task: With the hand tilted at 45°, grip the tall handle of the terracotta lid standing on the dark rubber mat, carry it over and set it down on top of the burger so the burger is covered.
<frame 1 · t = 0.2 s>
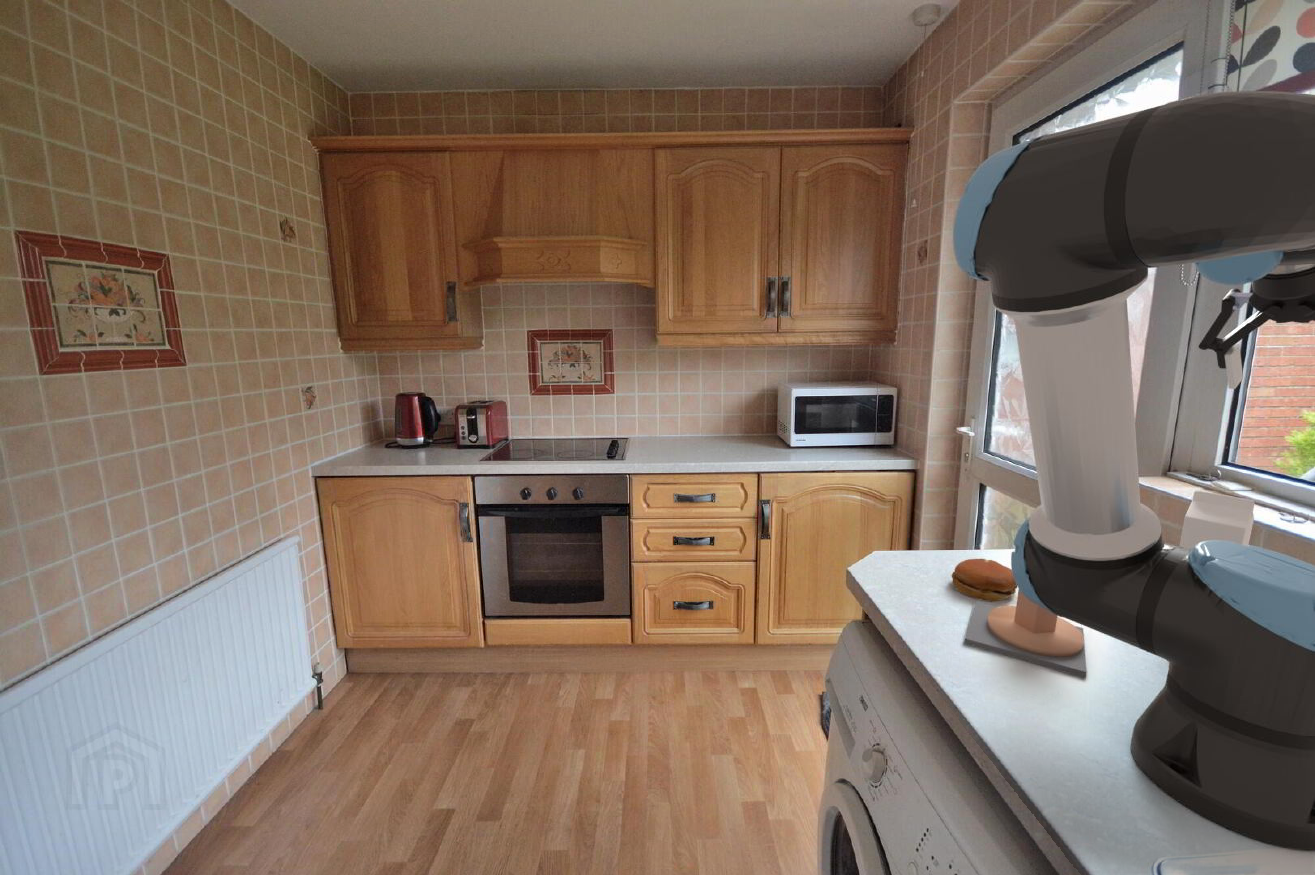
hand: (1299, 387, 82), 36 cm above the countertop, tool tilted 35°, fingers open, 13 cm apart
lid: (1033, 633, 82), point 1 cm above the countertop, touching mat
burger: (982, 591, 97), on the countertop
milk: (1193, 643, 81), on the countertop
mat: (1024, 638, 82), on the countertop
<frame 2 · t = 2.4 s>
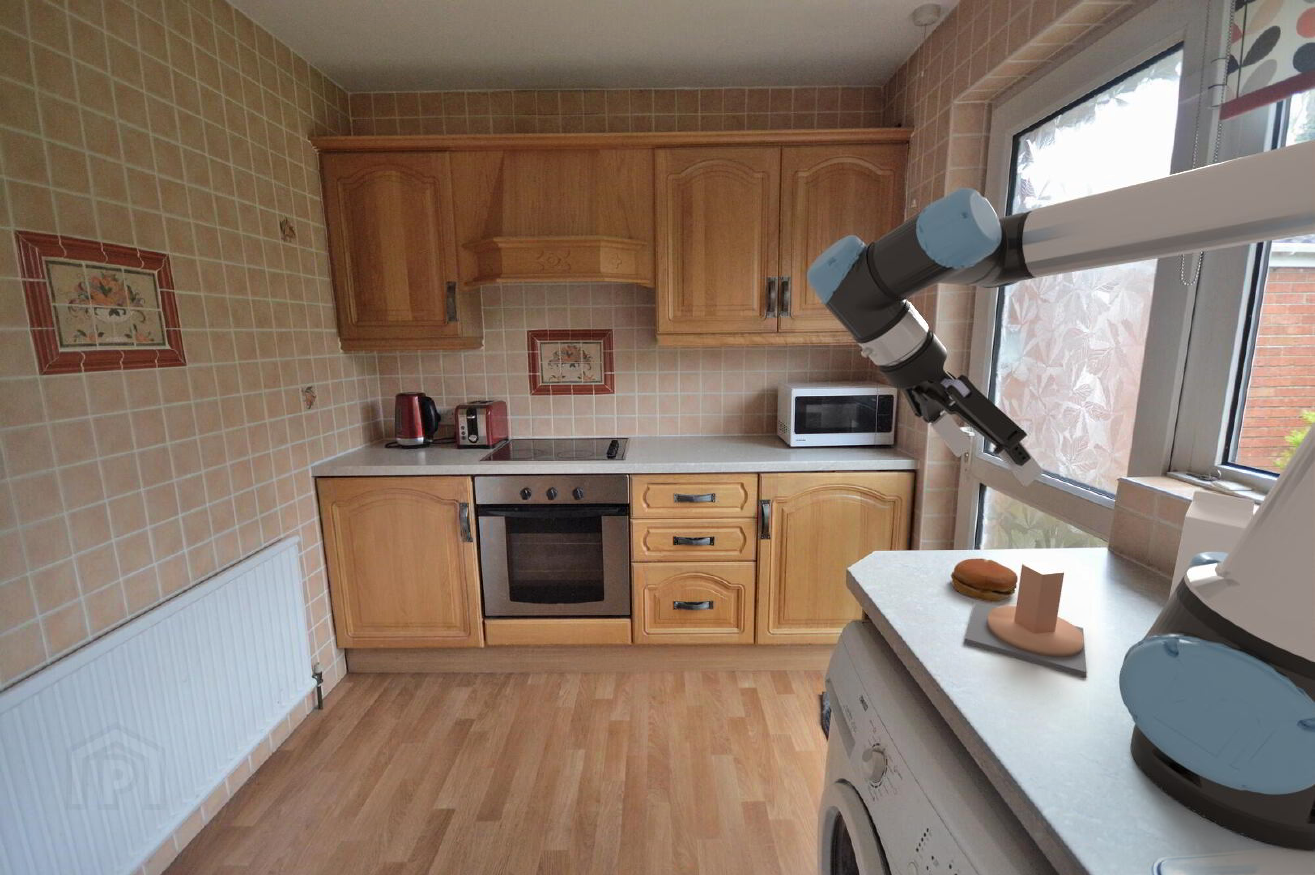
hand: (996, 463, 76), 27 cm above the countertop, tool tilted 45°, fingers open, 13 cm apart
nothing on the countertop moved.
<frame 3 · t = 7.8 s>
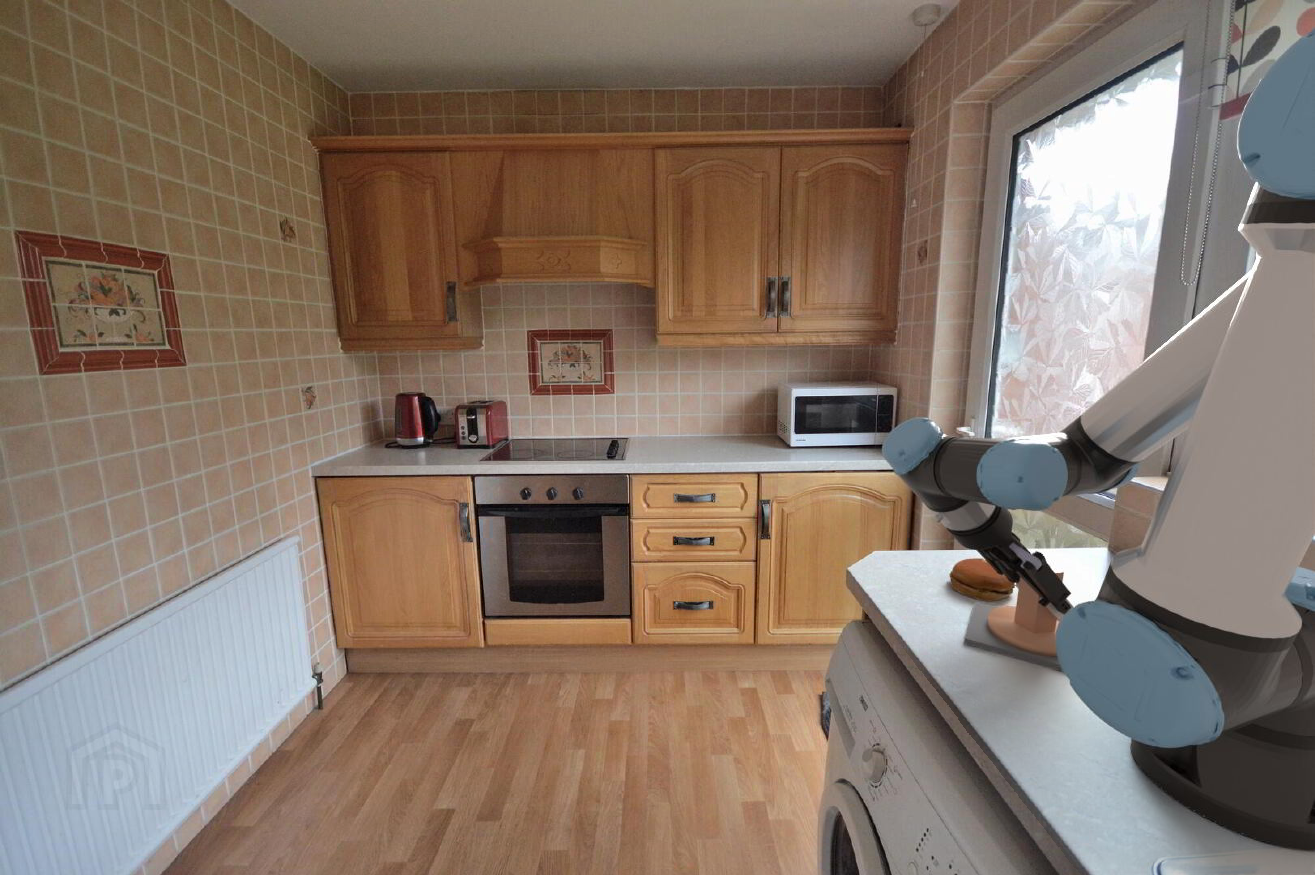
hand: (1058, 613, 82), 4 cm above the countertop, tool tilted 45°, fingers closed on lid, 3 cm apart
lid: (1033, 633, 82), point 1 cm above the countertop, touching gripper, mat
everything else where it was.
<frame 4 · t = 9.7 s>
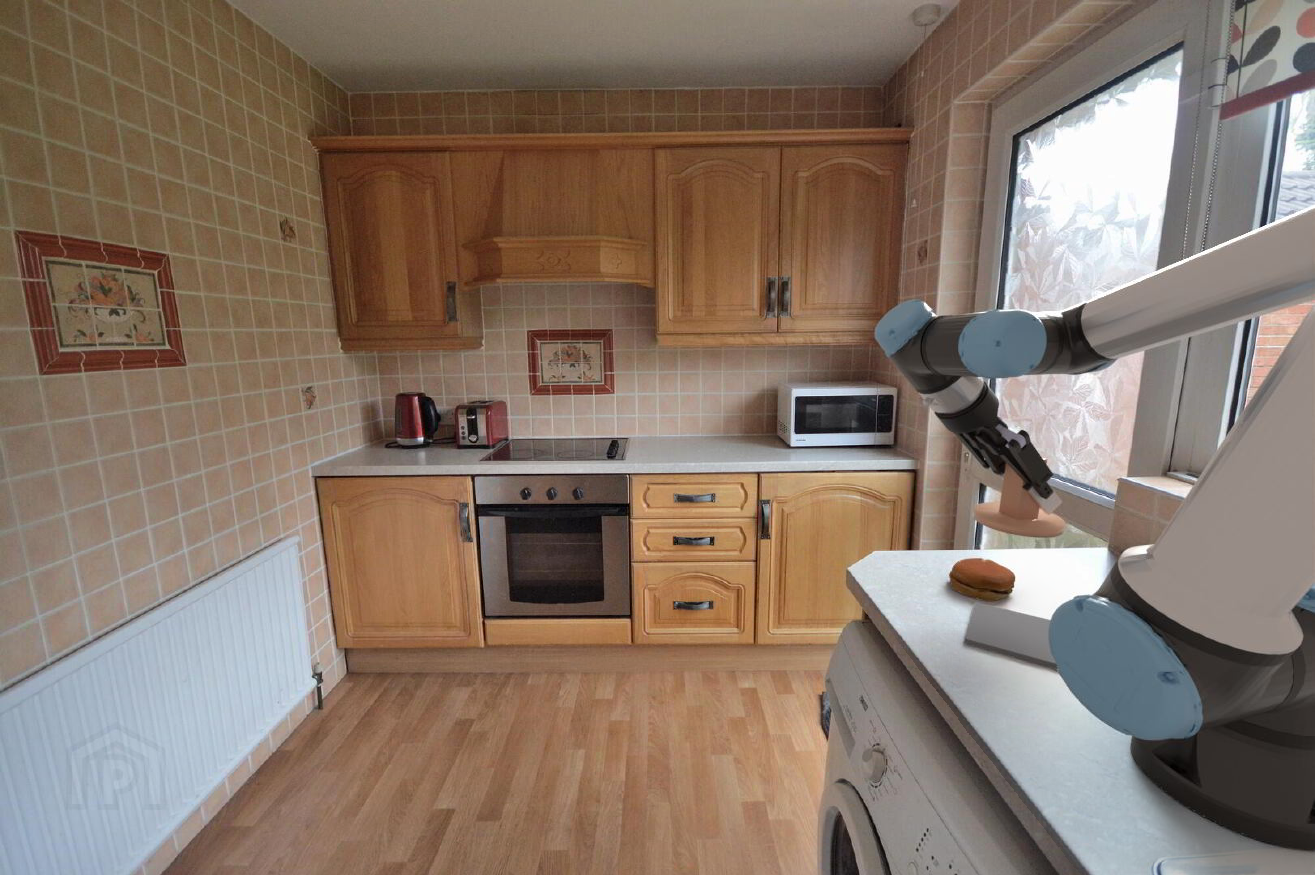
hand: (1041, 502, 85), 18 cm above the countertop, tool tilted 45°, fingers closed on lid, 3 cm apart
lid: (1016, 522, 85), point 15 cm above the countertop, touching gripper
everything else where it was.
when the fingers open (9 cm above the countertop, at t = 11.9 s): lid drops 2 cm, resting on burger.
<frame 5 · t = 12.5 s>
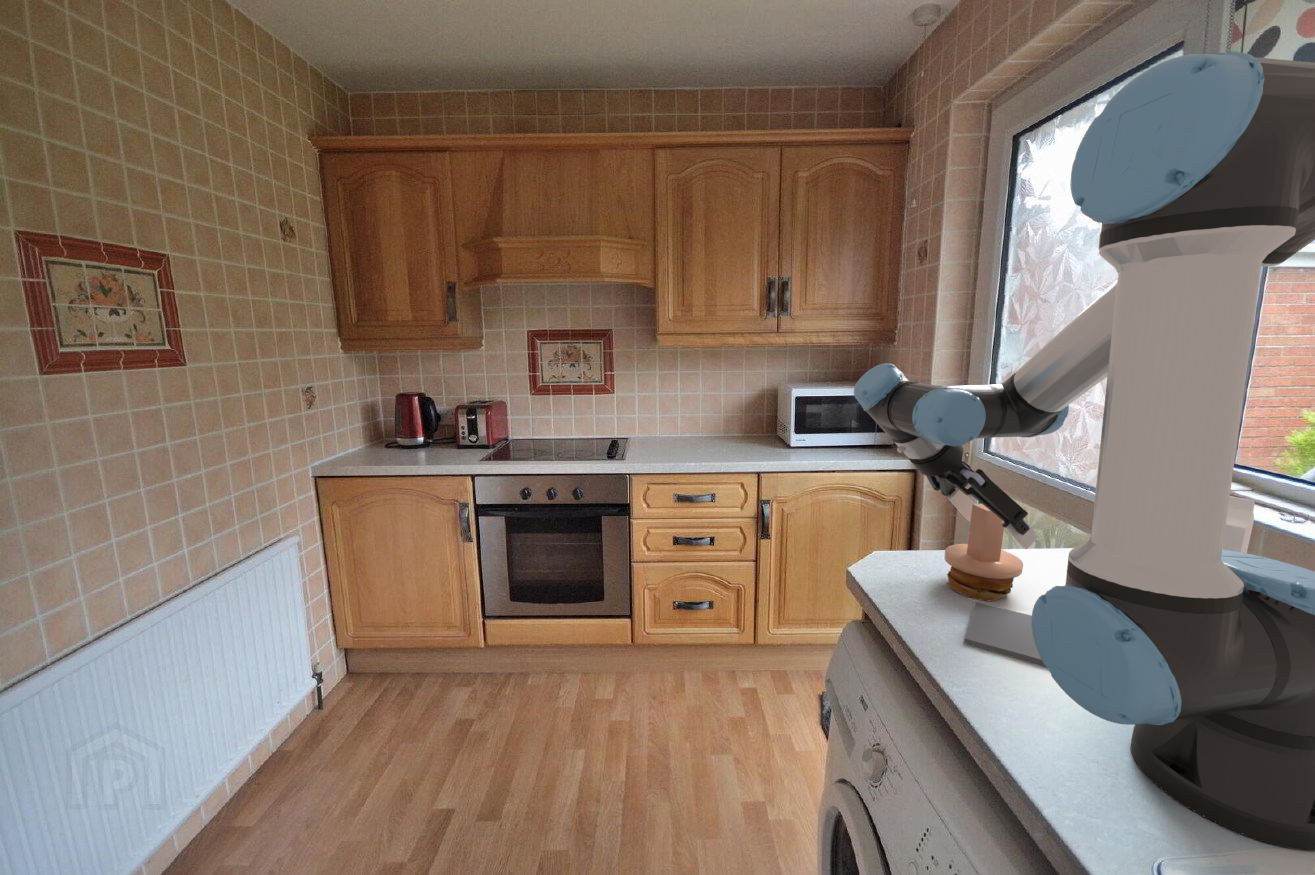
hand: (1000, 528, 96), 11 cm above the countertop, tool tilted 45°, fingers open, 12 cm apart
lid: (982, 563, 97), point 4 cm above the countertop, touching burger
burger: (978, 590, 98), on the countertop, touching lid
everything else where it was.
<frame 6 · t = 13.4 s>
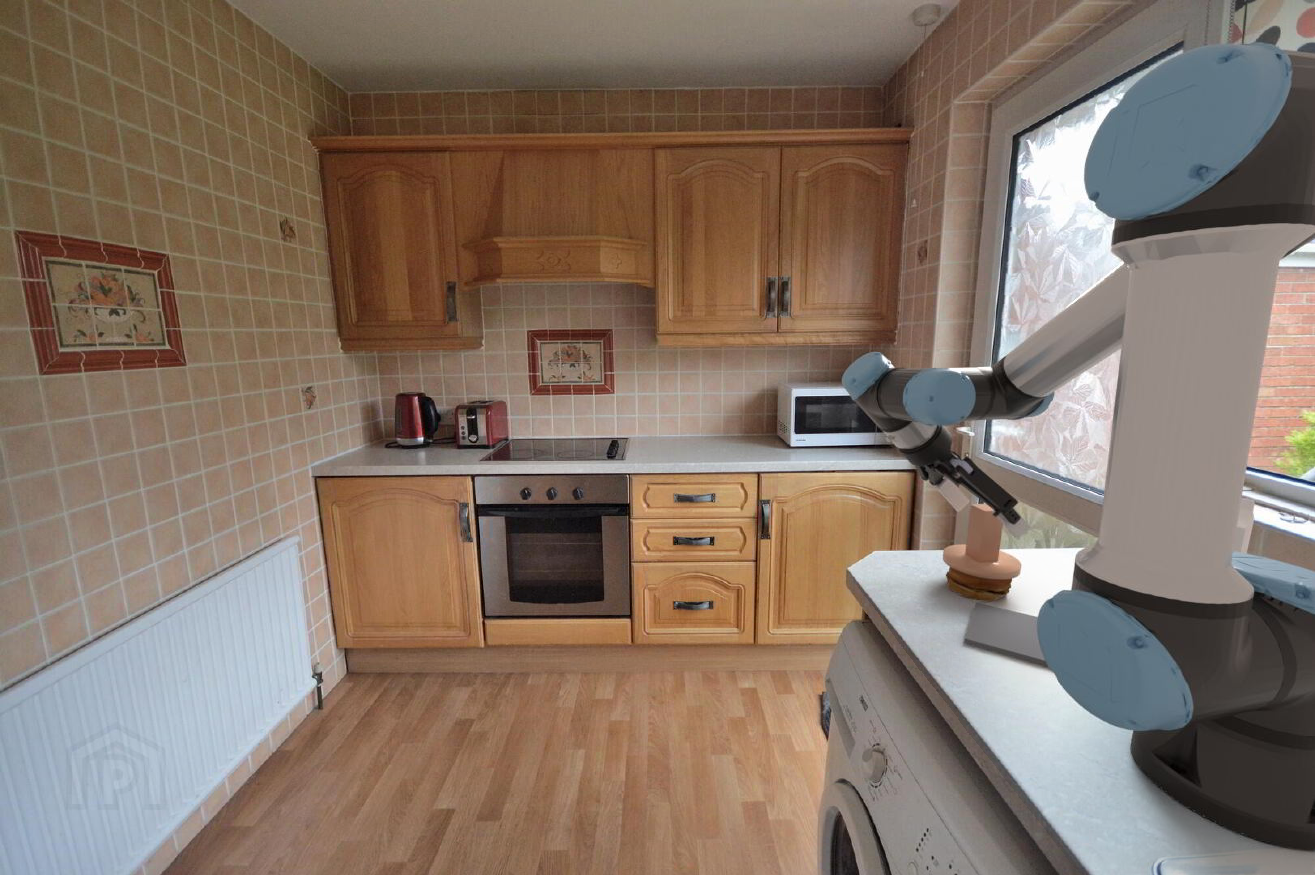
hand: (991, 518, 95), 12 cm above the countertop, tool tilted 45°, fingers open, 13 cm apart
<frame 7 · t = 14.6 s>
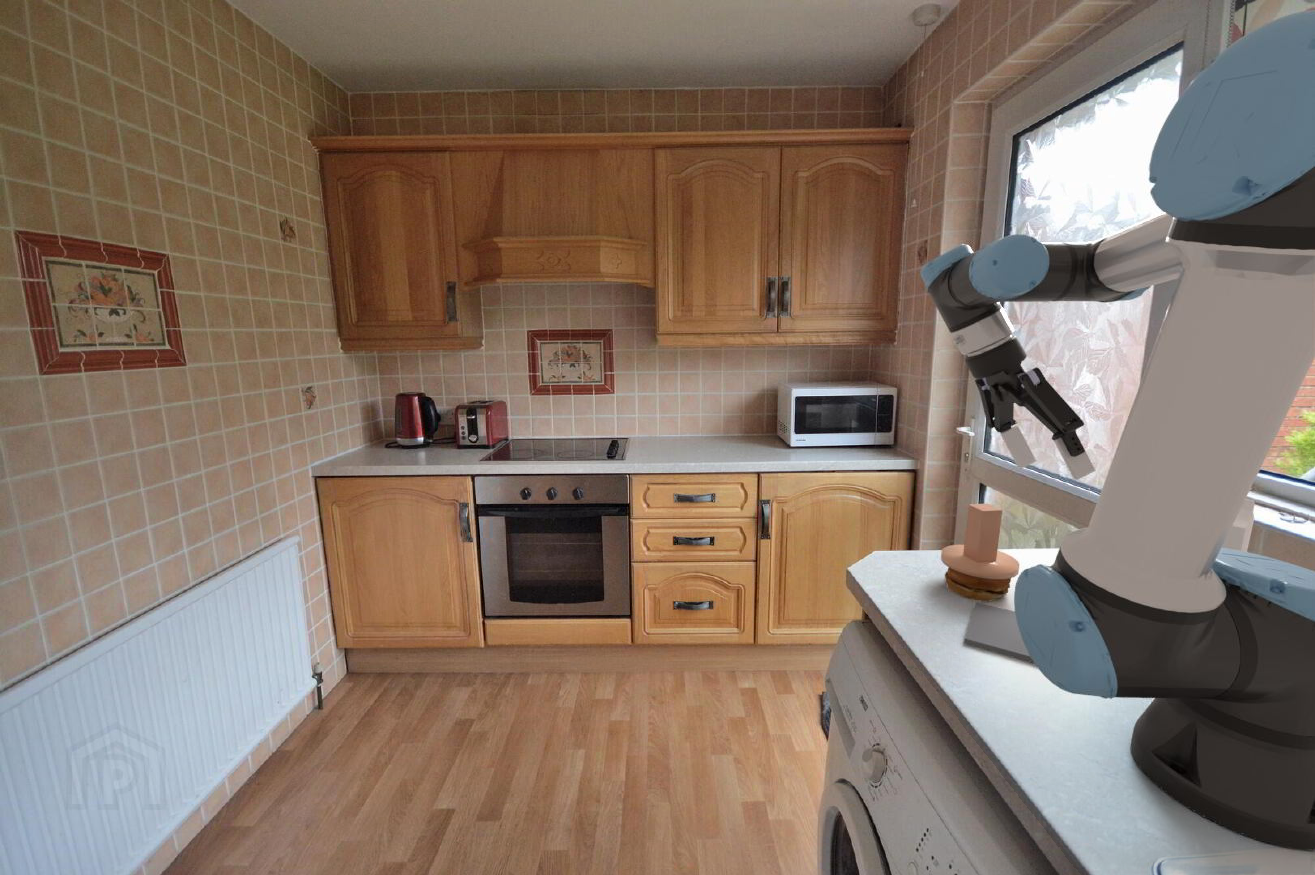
hand: (1053, 469, 86), 23 cm above the countertop, tool tilted 30°, fingers open, 13 cm apart
nothing on the countertop moved.
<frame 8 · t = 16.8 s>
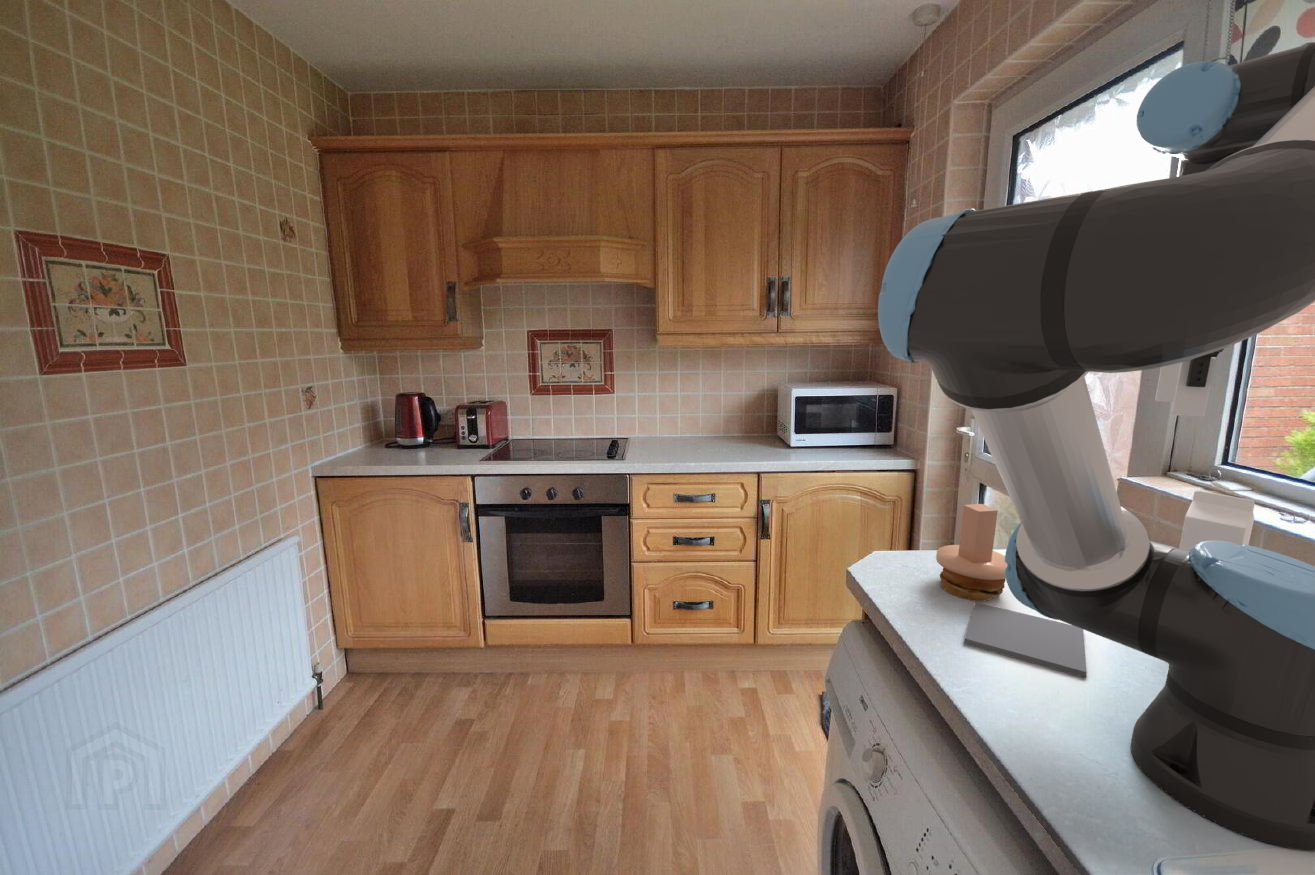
hand: (1177, 408, 69), 35 cm above the countertop, tool pointing down, fingers open, 13 cm apart
at the end: lid inside the target area on the burger (0.1 cm from its centre), point 4.9 cm above the burger's base; lid tilted 0°; the gripper is holding nothing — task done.
